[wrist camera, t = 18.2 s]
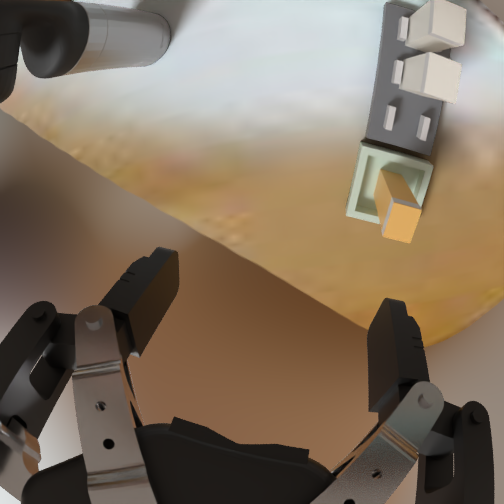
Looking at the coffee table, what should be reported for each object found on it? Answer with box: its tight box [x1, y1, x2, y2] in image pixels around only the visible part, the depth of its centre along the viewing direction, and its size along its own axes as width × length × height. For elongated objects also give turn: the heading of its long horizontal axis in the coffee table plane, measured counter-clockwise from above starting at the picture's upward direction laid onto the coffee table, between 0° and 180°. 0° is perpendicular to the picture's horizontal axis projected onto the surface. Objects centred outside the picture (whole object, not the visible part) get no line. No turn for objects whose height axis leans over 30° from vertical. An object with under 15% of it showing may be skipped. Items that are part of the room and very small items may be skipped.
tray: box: [346, 141, 434, 224], centre depth 38 cm, size 10×10×3 cm
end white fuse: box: [405, 0, 466, 53], centre depth 20 cm, size 3×4×12 cm
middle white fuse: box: [399, 52, 462, 104], centre depth 24 cm, size 3×4×12 cm
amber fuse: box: [373, 169, 422, 243], centre depth 33 cm, size 3×4×12 cm
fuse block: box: [366, 2, 451, 156], centre depth 29 cm, size 9×19×4 cm, turn 175°
